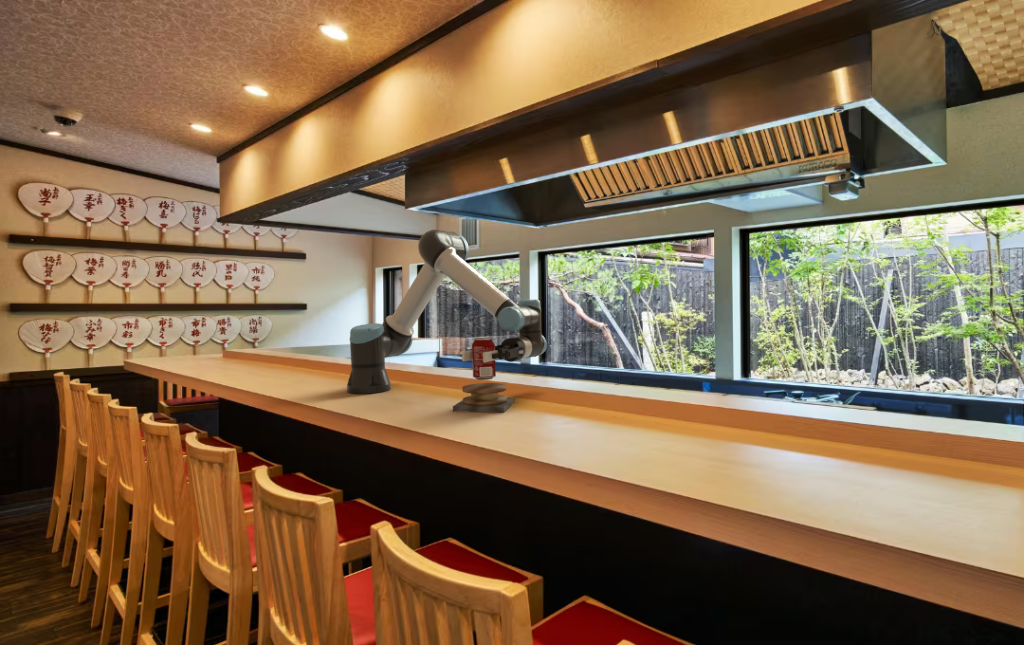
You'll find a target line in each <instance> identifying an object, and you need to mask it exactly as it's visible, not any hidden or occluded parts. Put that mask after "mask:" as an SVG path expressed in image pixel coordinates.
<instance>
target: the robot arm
mask: <svg viewBox="0 0 1024 645" xmlns="http://www.w3.org/2000/svg"><path fill="white" fill-rule="evenodd" d="M417 247H418V248H417V250H418V253H419V255H420V257H421V259H422V260H423V265H422V267H421V268H420V270H419V272H418V273H417V275H416V277H415V278H414V280H413V282H412V283H411V284H410V286H409V288H408V290H407V291H406V293H405V295H404V296H403V298H402V299H401V301H400V302H399V304H398V305H397V307H396V308H395V311H394V313H393V314H392V315H388V316H386V317H385V319H384V320H383V322H382V323H378V322H376V323H367V324H365V323H364V324H360V325H359V324H358V325H355V326H353V327H352V328H351V329H350V330H349V345H350V346H349V347H350V366H351V368H350V369H351V370H350V374H349V377H348V380H347V383H346V384H347V385H346V392H347V393H348V394H360V395H361V394H362V395H363V394H376V393H377V394H378V393H382V392H383V393H384V392H388V391H390V390H391V389H392V384H391V379H390V378H389V375H388V372H387V370H386V359H385V358H392V357H397V356H400V355H403V354H404V353H406V352H408V351H409V350H410V348H411V346H412V344H413V341H414V339H413V335H414V333H415V331H414V326H415V324H416V323H417V321H418V319H420V317H421V315H422V313H423V312H424V310H425V308H426V306H427V305H428V304H429V303H430V300H431V299H432V297H433V296H434V294H435V292H436V291H437V289H438V288H439V286H440V285H441V283H442V281H443V280H444V278H445V277H447V278H448V279H449V280H451V282H453V283H454V284H455V285H457V286H458V287H459V288H460V289H461V290H463V291H464V292H465V293H466V294H467V295H468V296H470V297H471V298H472V299H473V300H474V301H475V302H477V303H478V304H479V305H480V306H482V307H483V308H484V309H485V310H486V311H487V312H488V313H490V314H491V316H493V317H495V318H496V319H497V322H498V325H499V327H500V328H501V329H503V330H504V331H506V332H507V331H508V332H517V331H518V336H514V337H509V338H505V339H504V340H502V342H501V343H500V344H497V345H495V351H490V352H484V353H483V362H489V361H494V360H495V361H498V360H499V361H500V360H505V361H507V362H509V363H513V362H516V361H518V362H522V361H523V360H525V359H530V358H535V357H538V356H541V355H542V354H544V352H546V350H547V347H548V341H547V340H546V338H545V337H544V335H543V334H542V315H541V314H542V308H541V301H540V300H539V299H519V300H518V302H517V303H518V304H517V303H516V302H514V301H513V300H512V299H511V298H509V297H508V296H507V294H505V293H504V292H502V291H501V290H500V289H499V288H498V287H496V286H495V285H494V284H493V283H492V282H490V281H489V280H488V279H487V278H486V277H484V276H483V275H482V274H481V273H480V272H478V271H477V270H476V269H475V268H474V267H473V266H471V265H470V264H469V263H468V262H466V261H467V259H468V257H469V254H470V248H469V244H468V241H467V240H466V238H465V237H464V236H463V235H461V234H460V233H456V232H454V231H447V230H442V229H430V230H427V231H425V233H423V234H422V236H420V238H419V241H418V246H417ZM461 355H462V356H461V360H462V362H468V361H472V348H470V349H469V350H466V351H465V350H464V351H462V352H461Z"/></svg>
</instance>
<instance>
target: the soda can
mask: <svg viewBox="0 0 1024 645" xmlns="http://www.w3.org/2000/svg"><path fill="white" fill-rule="evenodd" d="M495 346H496V344H495V342H494V341H493V337H474V338H473V342H472V344H471V349H472V360H471V361H472V378H474V379H476V380H479V381H486V380H487V381H488V380H492V379H494V378H496V375H497V371H496V370H497V369H496V368H497V367H496V360H494V361H489V362H483V353H484V352H490V351H495Z"/></svg>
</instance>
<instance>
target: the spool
mask: <svg viewBox="0 0 1024 645" xmlns="http://www.w3.org/2000/svg"><path fill="white" fill-rule="evenodd" d="M461 389H462V392H463V393H465V394H470V395H468V396H464V397H463V398H462V399H461V400H460V401H459V402H457V403H455V404H454V405H452V412H453V411H469V412H468V413H500V414H501V413H503V414H504V413H505V412H506V411H507V410H508V409H509V408H511V406H512V405H514V404H515V402H516V397H515V396H513V397H512V396H506V395H502V394H500V393H503V392H505V391H506V390H507V385H506V384H504V383H498V382H496V383H495V382H481V383H480V382H476V383H470V384H466V385H462V388H461Z"/></svg>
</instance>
